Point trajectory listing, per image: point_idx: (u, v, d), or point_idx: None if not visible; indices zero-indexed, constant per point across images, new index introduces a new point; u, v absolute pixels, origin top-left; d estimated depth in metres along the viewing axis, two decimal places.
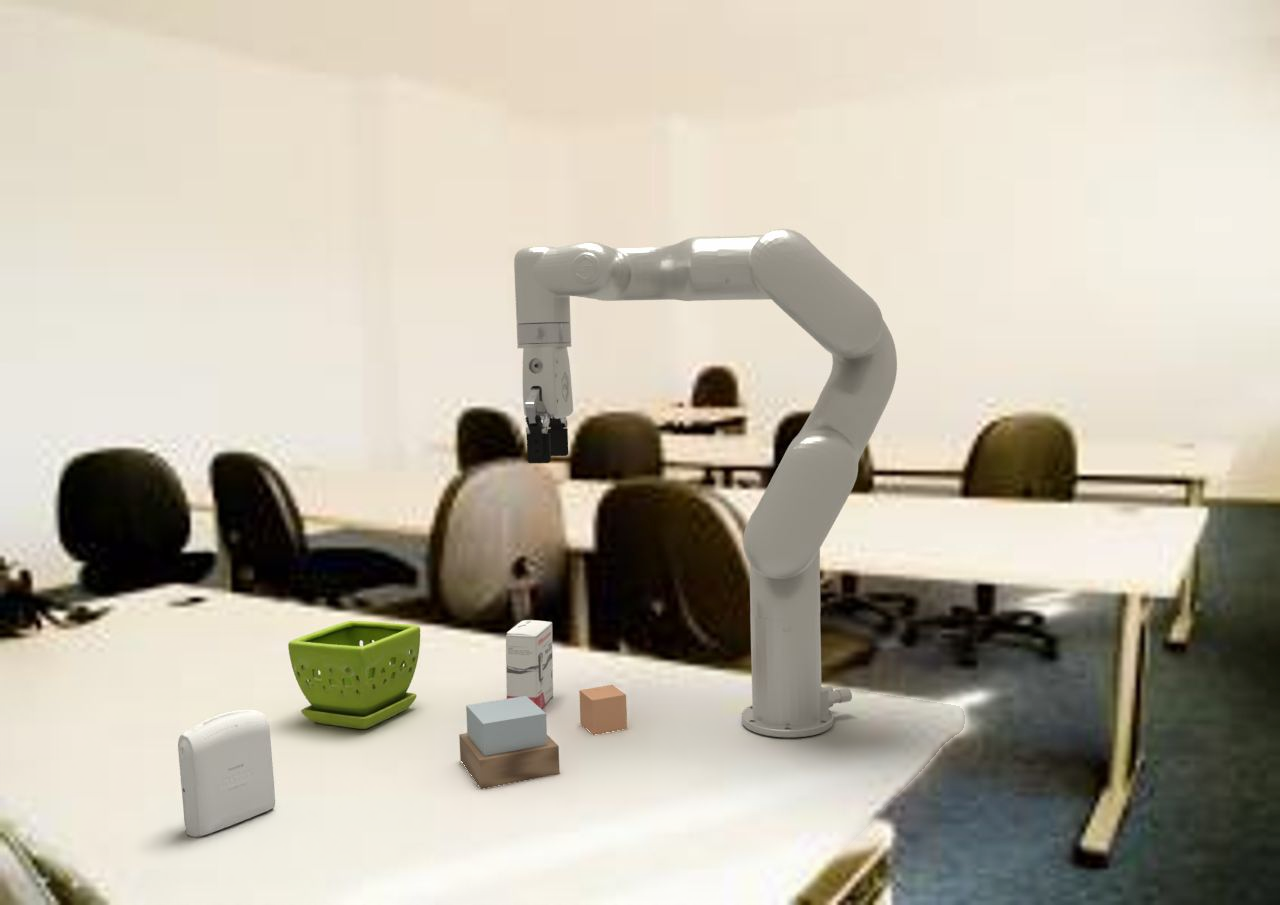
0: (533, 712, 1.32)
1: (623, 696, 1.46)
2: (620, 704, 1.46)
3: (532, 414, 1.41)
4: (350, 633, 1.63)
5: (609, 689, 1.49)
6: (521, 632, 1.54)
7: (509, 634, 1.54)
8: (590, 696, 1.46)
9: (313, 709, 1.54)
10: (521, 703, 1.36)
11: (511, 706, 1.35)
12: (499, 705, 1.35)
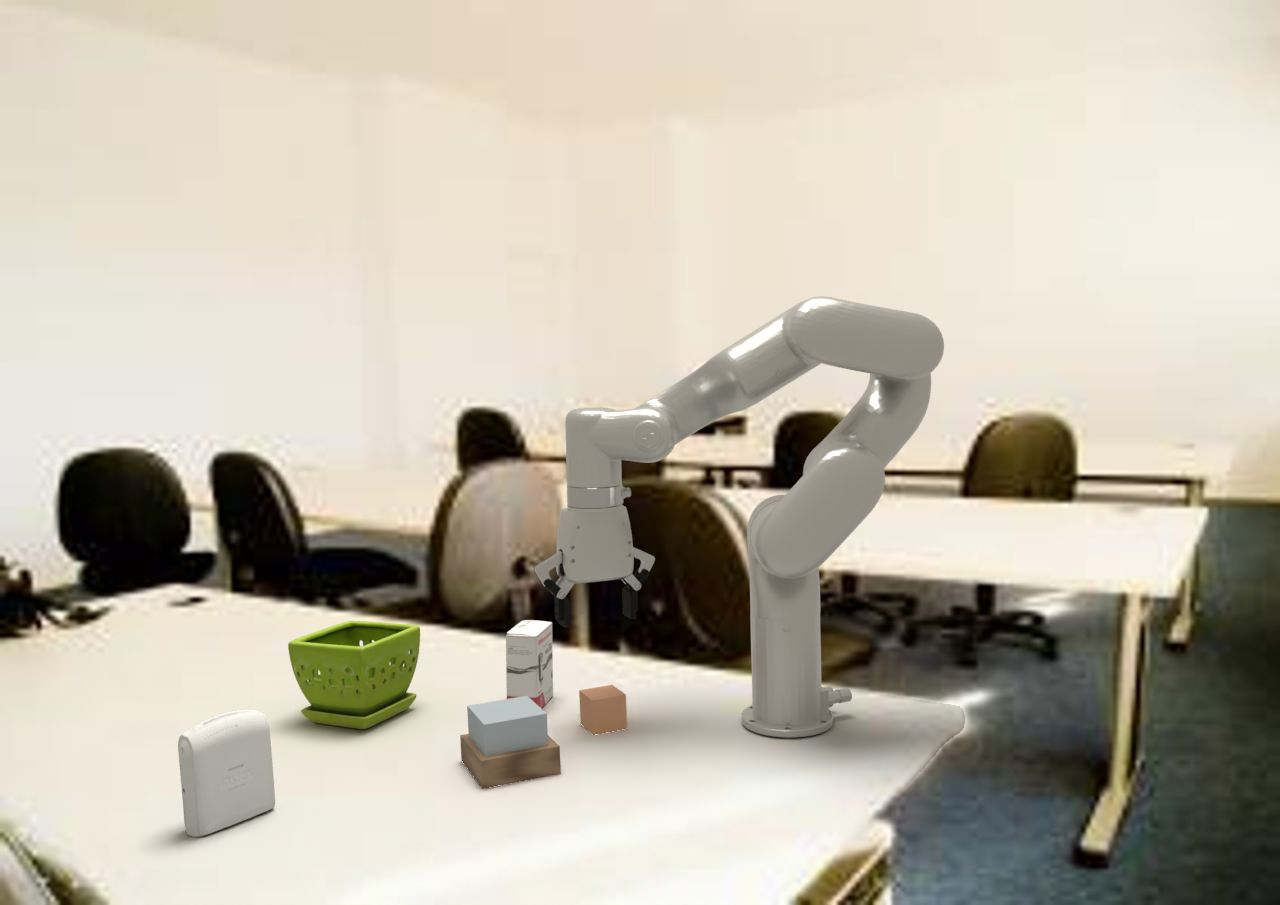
0: (534, 712, 1.32)
1: (623, 696, 1.46)
2: (620, 704, 1.46)
3: None
4: (350, 633, 1.63)
5: (609, 689, 1.49)
6: (521, 632, 1.54)
7: (509, 634, 1.54)
8: (590, 696, 1.46)
9: (313, 709, 1.54)
10: (522, 703, 1.36)
11: (512, 706, 1.35)
12: (500, 705, 1.36)
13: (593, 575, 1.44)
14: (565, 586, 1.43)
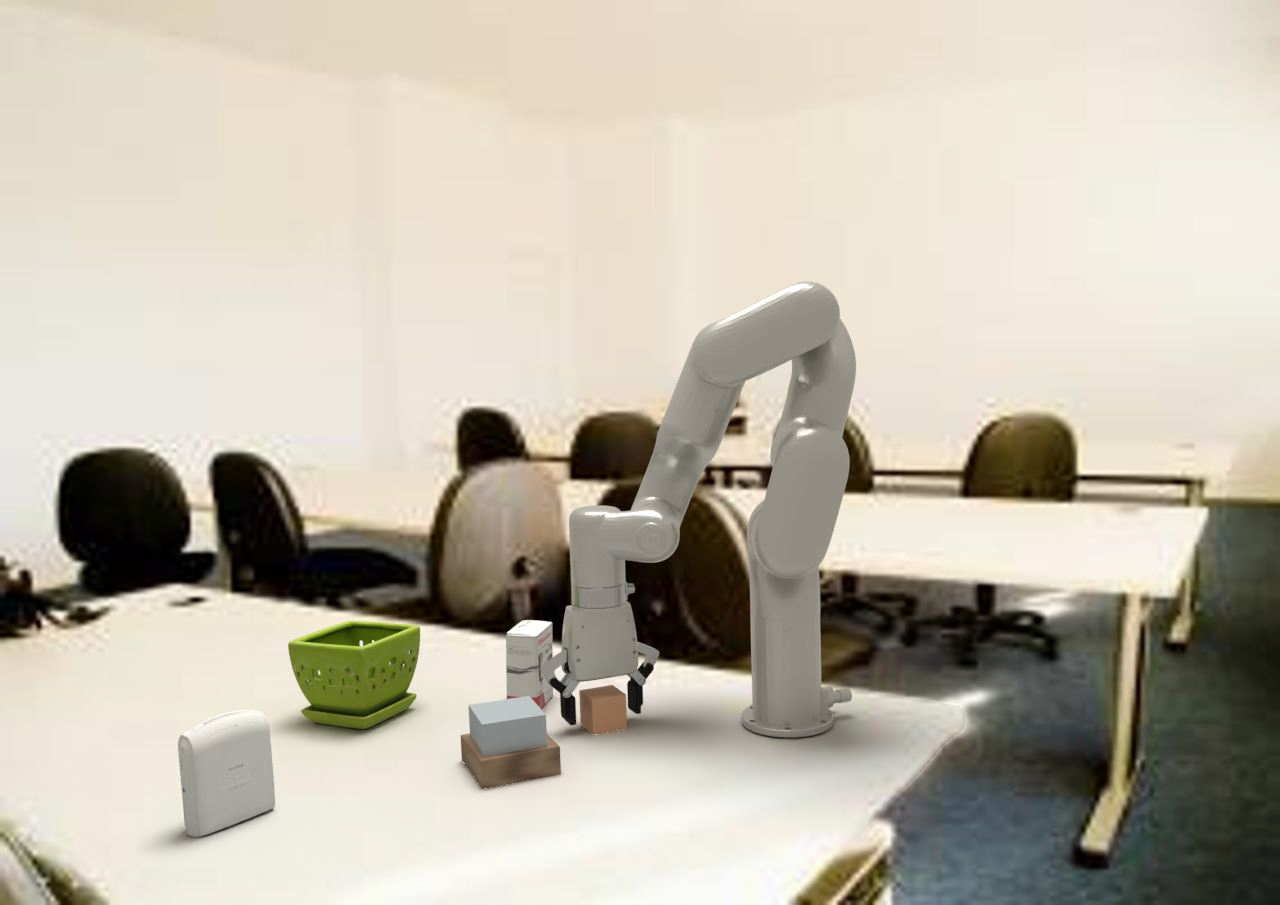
0: (533, 713, 1.32)
1: (623, 696, 1.46)
2: (620, 704, 1.46)
3: None
4: (350, 633, 1.63)
5: (609, 689, 1.49)
6: (521, 632, 1.54)
7: (509, 634, 1.54)
8: (590, 696, 1.46)
9: (313, 709, 1.54)
10: (522, 704, 1.36)
11: (513, 706, 1.35)
12: (501, 705, 1.35)
13: (598, 673, 1.45)
14: (571, 684, 1.44)
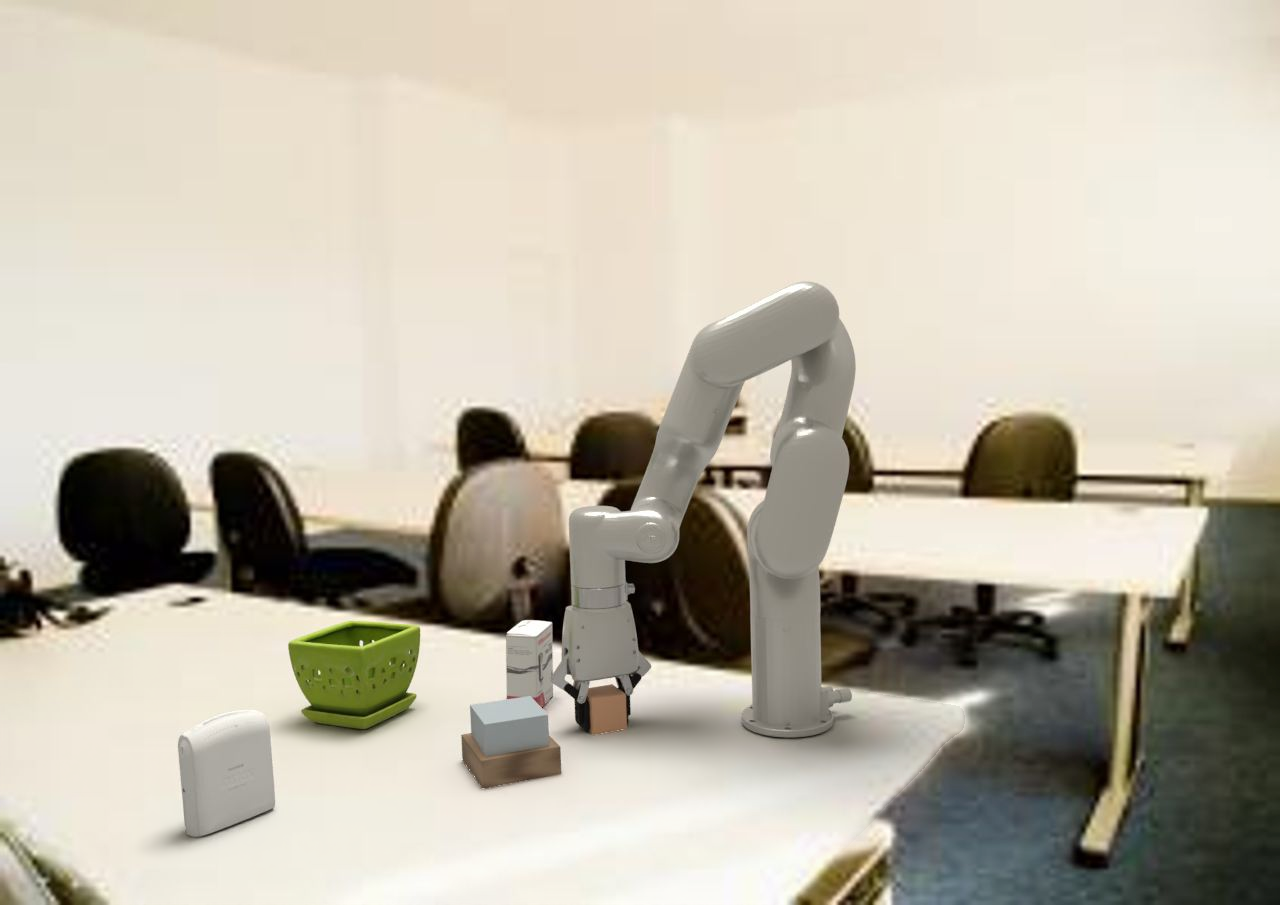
0: (535, 713, 1.32)
1: (623, 695, 1.46)
2: (620, 703, 1.46)
3: None
4: (350, 633, 1.63)
5: (609, 689, 1.49)
6: (521, 632, 1.54)
7: (509, 634, 1.54)
8: (590, 696, 1.46)
9: (313, 709, 1.54)
10: (524, 704, 1.36)
11: (515, 706, 1.35)
12: (502, 705, 1.35)
13: (598, 673, 1.45)
14: (582, 689, 1.45)
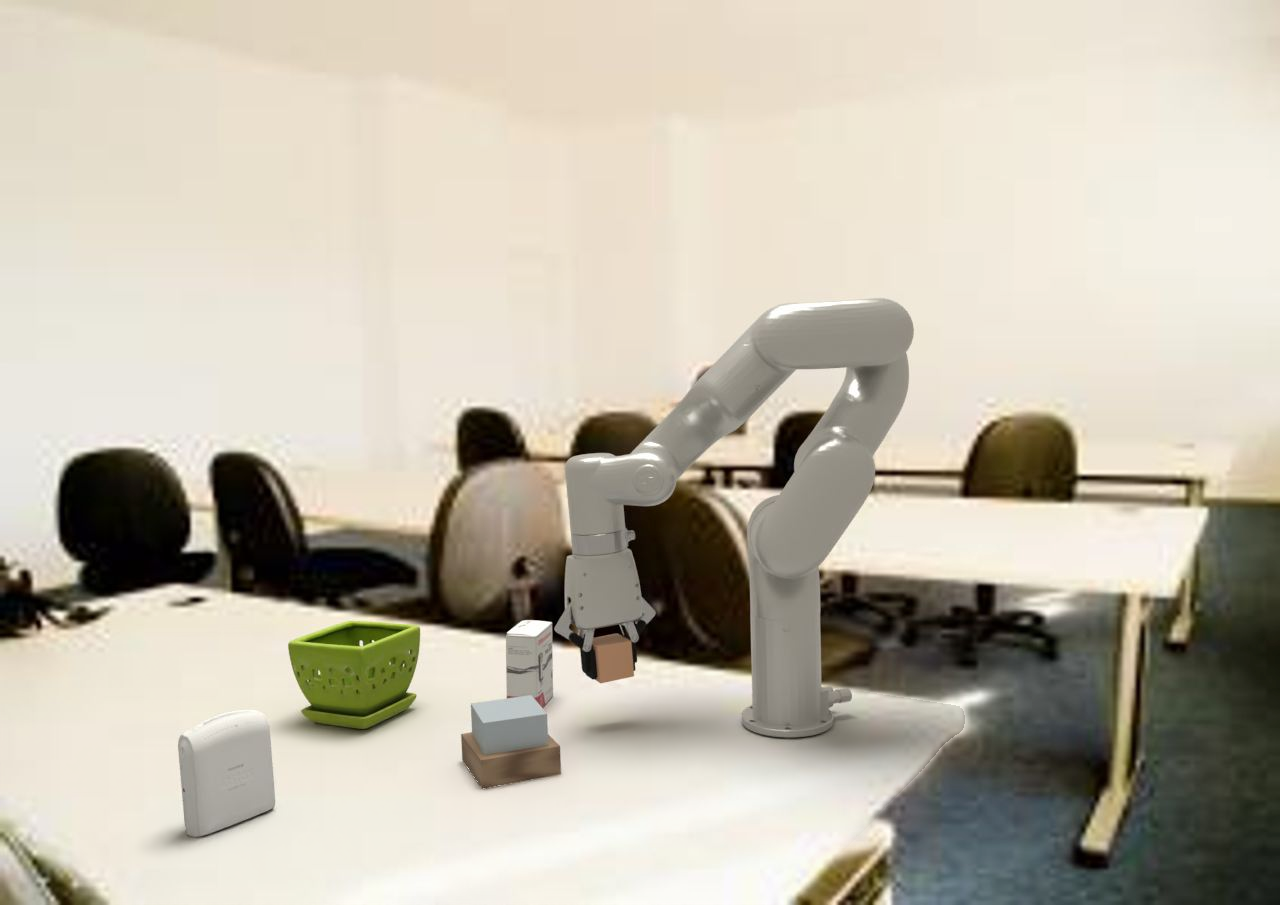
0: (535, 712, 1.32)
1: (628, 642, 1.46)
2: (626, 650, 1.46)
3: None
4: (350, 633, 1.63)
5: (614, 637, 1.48)
6: (521, 632, 1.54)
7: (509, 634, 1.54)
8: (595, 644, 1.45)
9: (313, 709, 1.54)
10: (524, 703, 1.36)
11: (515, 705, 1.35)
12: (503, 704, 1.36)
13: (603, 620, 1.44)
14: (587, 638, 1.44)
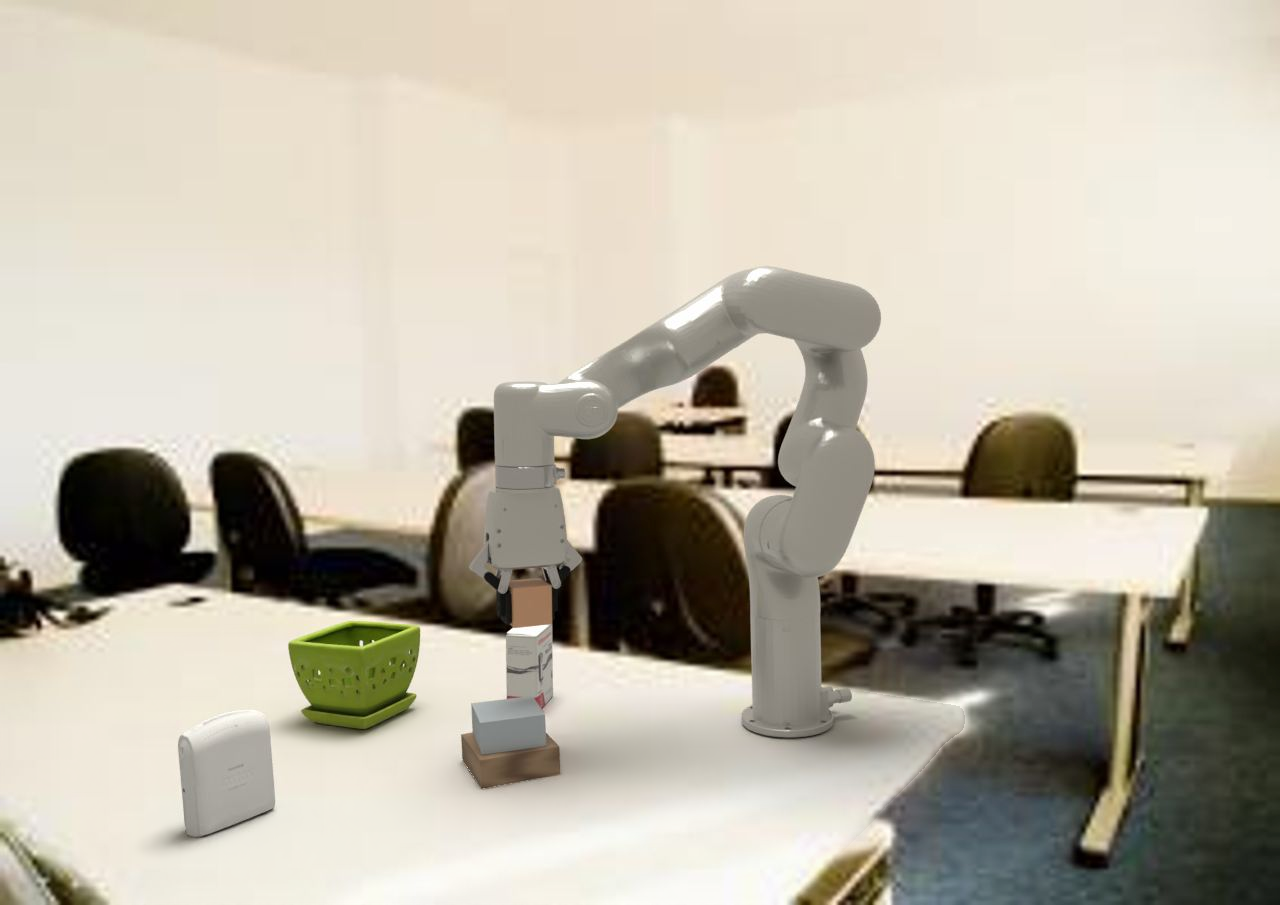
0: (533, 713, 1.32)
1: (548, 587, 1.35)
2: (545, 595, 1.35)
3: None
4: (350, 633, 1.63)
5: (535, 581, 1.37)
6: (521, 632, 1.54)
7: (509, 634, 1.54)
8: (512, 586, 1.35)
9: (313, 709, 1.54)
10: (524, 703, 1.36)
11: (514, 706, 1.35)
12: (503, 704, 1.36)
13: (521, 561, 1.34)
14: (503, 578, 1.34)
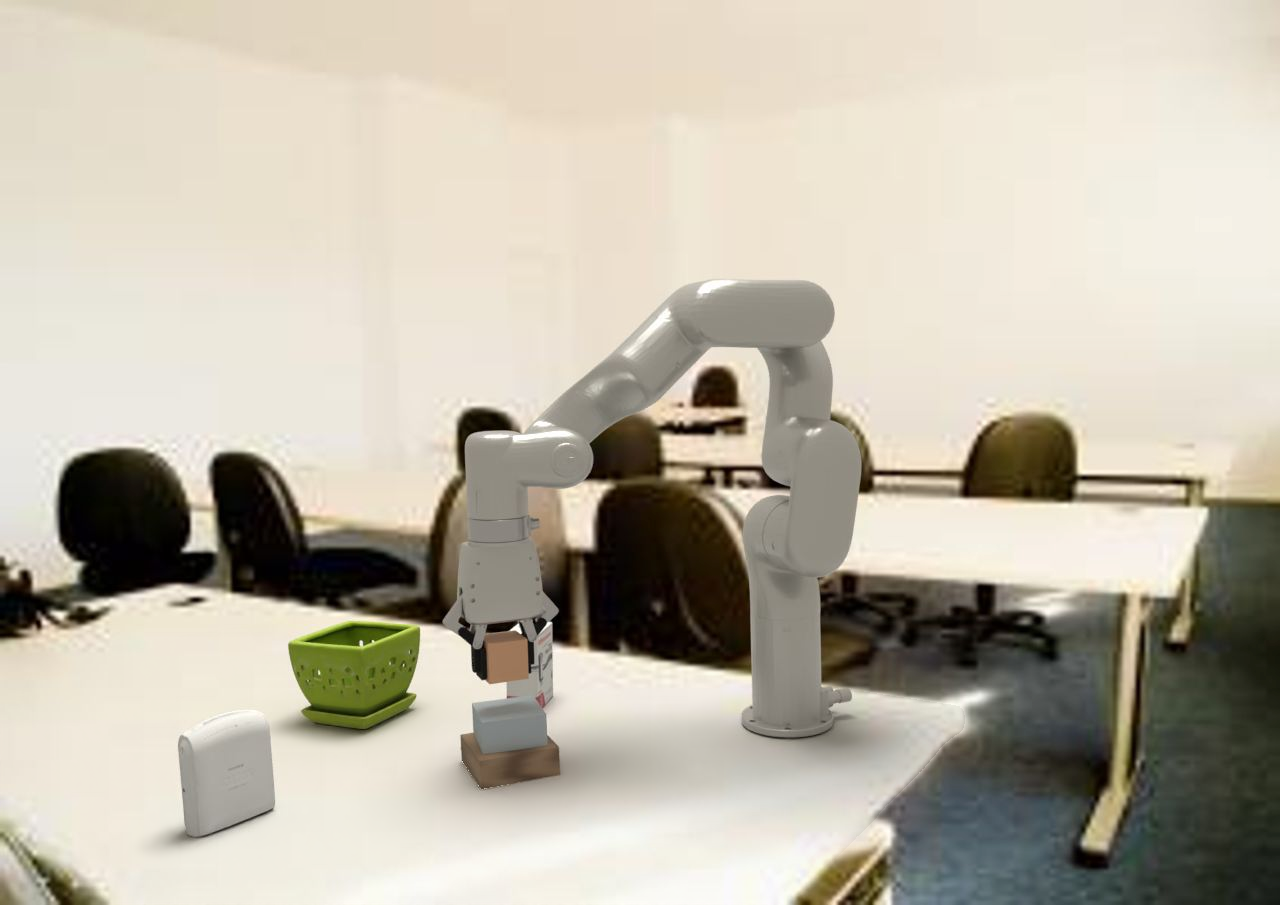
0: (534, 712, 1.32)
1: (524, 641, 1.32)
2: (520, 650, 1.32)
3: None
4: (350, 633, 1.63)
5: (510, 634, 1.34)
6: None
7: None
8: (487, 641, 1.31)
9: (313, 709, 1.54)
10: (525, 703, 1.36)
11: (515, 705, 1.35)
12: (503, 704, 1.36)
13: (496, 616, 1.30)
14: (478, 634, 1.30)
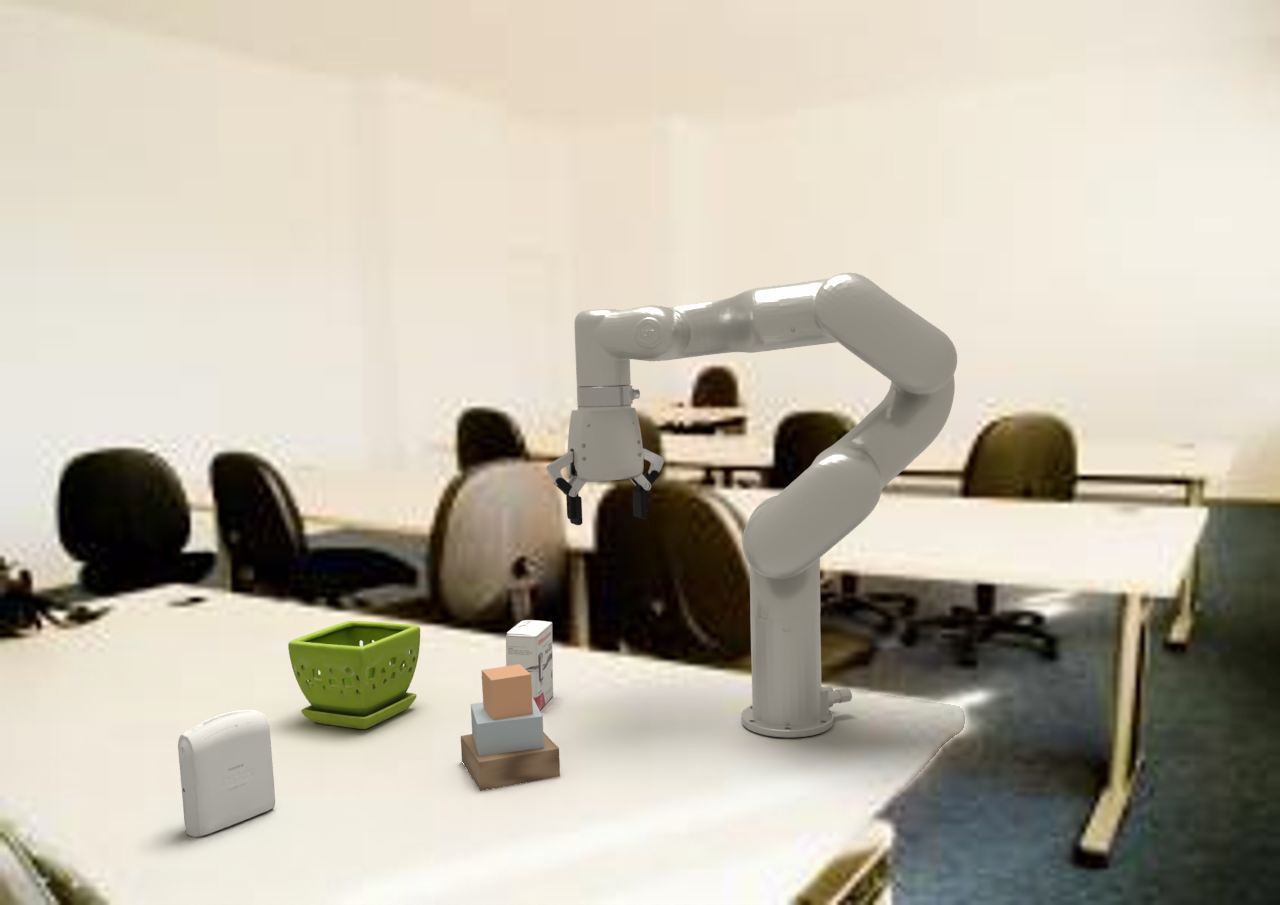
0: (531, 714, 1.32)
1: (528, 676, 1.31)
2: (524, 685, 1.31)
3: None
4: (350, 633, 1.63)
5: (514, 669, 1.34)
6: (521, 632, 1.54)
7: (509, 634, 1.54)
8: (490, 676, 1.31)
9: (313, 709, 1.54)
10: None
11: None
12: None
13: (604, 473, 1.47)
14: (577, 484, 1.46)
